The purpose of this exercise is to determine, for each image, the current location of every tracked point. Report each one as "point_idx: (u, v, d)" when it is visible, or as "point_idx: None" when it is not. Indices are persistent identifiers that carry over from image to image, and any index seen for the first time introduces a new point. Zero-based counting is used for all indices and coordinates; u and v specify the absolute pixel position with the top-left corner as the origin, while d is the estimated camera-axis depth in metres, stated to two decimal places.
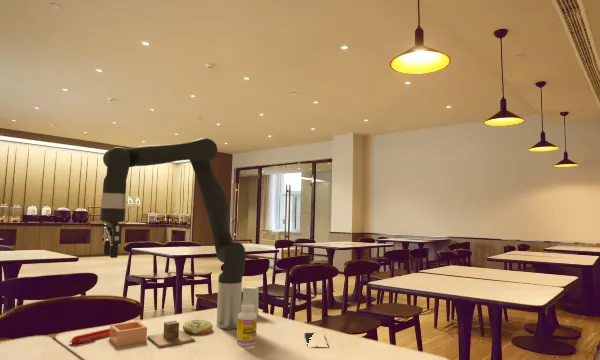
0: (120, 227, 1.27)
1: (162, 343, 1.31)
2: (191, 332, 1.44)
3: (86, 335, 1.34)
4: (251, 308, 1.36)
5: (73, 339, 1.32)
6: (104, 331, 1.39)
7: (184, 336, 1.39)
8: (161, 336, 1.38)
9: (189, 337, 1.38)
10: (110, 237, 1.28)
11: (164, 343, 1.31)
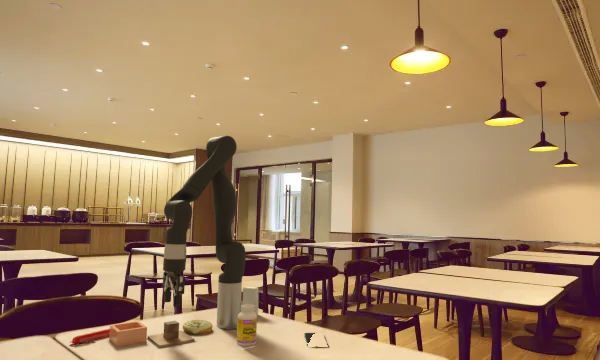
0: (183, 278, 1.34)
1: (162, 343, 1.31)
2: (191, 332, 1.44)
3: (87, 335, 1.34)
4: (251, 308, 1.36)
5: (74, 339, 1.31)
6: (105, 331, 1.39)
7: (184, 336, 1.39)
8: (161, 336, 1.38)
9: (189, 337, 1.38)
10: (173, 287, 1.35)
11: (164, 343, 1.31)
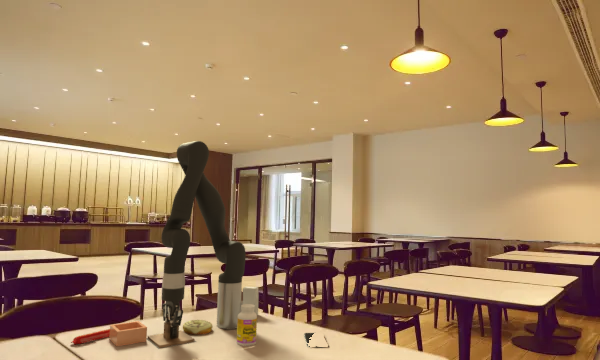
0: (182, 312, 1.34)
1: (162, 343, 1.31)
2: (191, 332, 1.44)
3: (88, 335, 1.33)
4: (251, 308, 1.36)
5: (75, 339, 1.31)
6: (106, 331, 1.38)
7: (184, 336, 1.39)
8: (161, 336, 1.38)
9: (189, 337, 1.38)
10: (171, 319, 1.35)
11: (164, 343, 1.31)
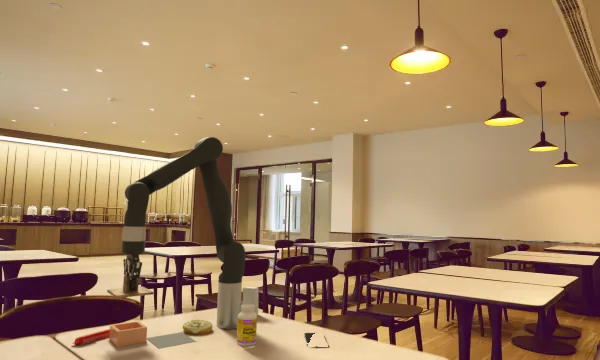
0: (140, 264, 1.34)
1: (119, 294, 1.31)
2: (192, 332, 1.44)
3: (89, 336, 1.33)
4: (251, 308, 1.36)
5: (77, 340, 1.31)
6: (106, 331, 1.39)
7: (144, 290, 1.39)
8: (121, 290, 1.38)
9: (149, 291, 1.38)
10: (130, 271, 1.35)
11: (122, 294, 1.31)
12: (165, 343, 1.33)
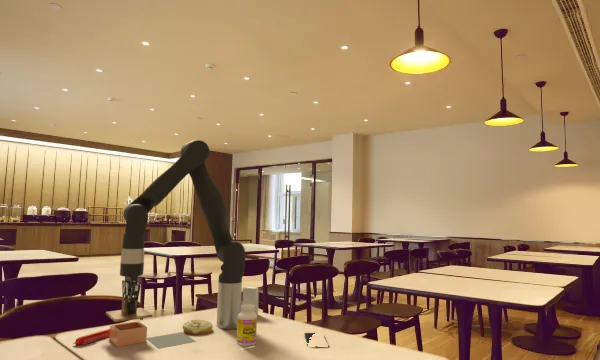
0: (139, 287, 1.33)
1: (118, 317, 1.31)
2: (192, 332, 1.44)
3: (90, 336, 1.33)
4: (251, 308, 1.36)
5: (78, 340, 1.30)
6: (106, 331, 1.39)
7: (142, 312, 1.38)
8: (119, 312, 1.38)
9: (147, 313, 1.37)
10: (128, 294, 1.35)
11: (120, 318, 1.30)
12: (165, 343, 1.33)
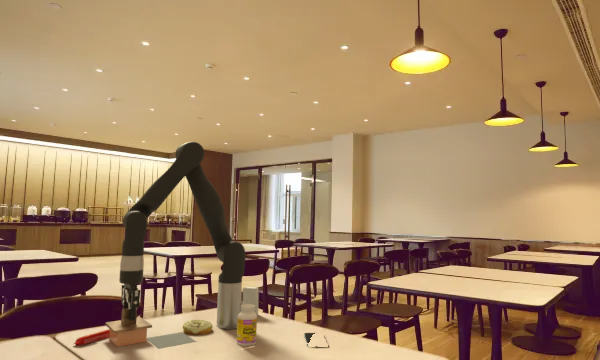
0: (139, 292, 1.33)
1: (117, 328, 1.30)
2: (192, 332, 1.44)
3: (90, 336, 1.33)
4: (251, 308, 1.36)
5: (78, 340, 1.30)
6: (107, 331, 1.39)
7: (142, 322, 1.38)
8: (119, 322, 1.37)
9: (147, 323, 1.37)
10: (129, 300, 1.34)
11: (120, 329, 1.30)
12: (165, 343, 1.33)
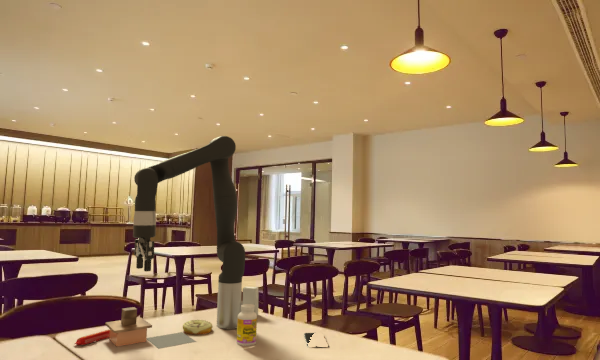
0: (153, 243, 1.37)
1: (117, 328, 1.30)
2: (192, 332, 1.44)
3: (91, 336, 1.33)
4: (251, 308, 1.36)
5: (78, 340, 1.30)
6: (108, 331, 1.38)
7: (142, 322, 1.38)
8: (119, 322, 1.37)
9: (147, 323, 1.37)
10: (143, 252, 1.38)
11: (120, 329, 1.30)
12: (165, 343, 1.33)
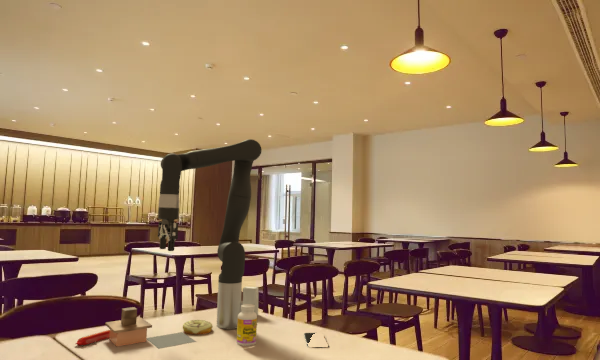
0: (177, 224, 1.45)
1: (117, 328, 1.30)
2: (192, 332, 1.44)
3: (92, 336, 1.33)
4: (251, 308, 1.36)
5: (79, 341, 1.30)
6: (108, 332, 1.38)
7: (142, 322, 1.38)
8: (119, 322, 1.37)
9: (147, 323, 1.37)
10: (168, 233, 1.46)
11: (120, 329, 1.30)
12: (165, 343, 1.33)
